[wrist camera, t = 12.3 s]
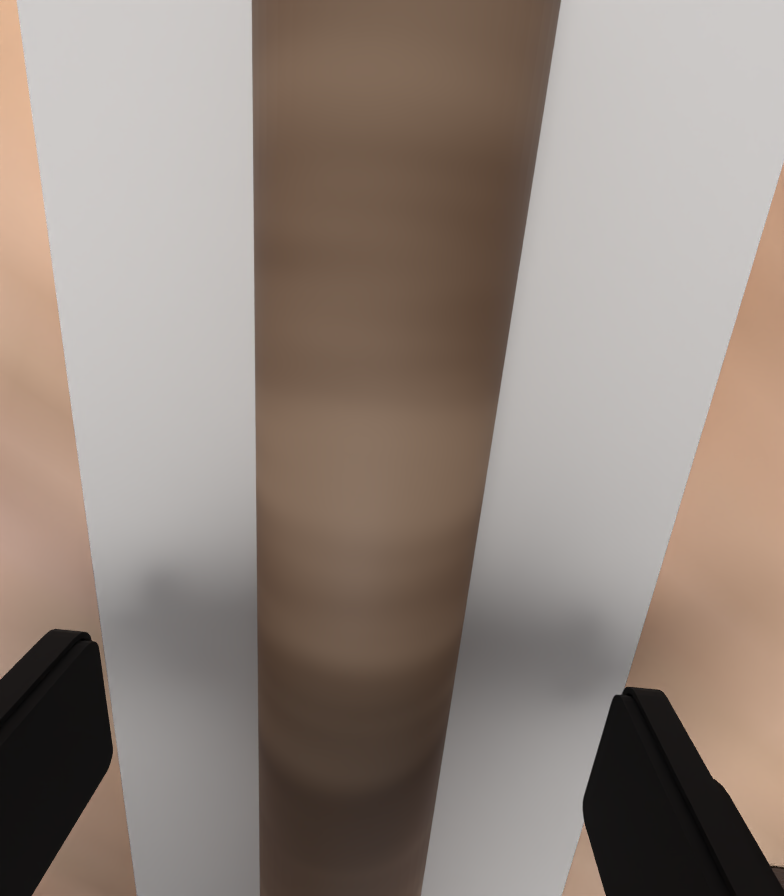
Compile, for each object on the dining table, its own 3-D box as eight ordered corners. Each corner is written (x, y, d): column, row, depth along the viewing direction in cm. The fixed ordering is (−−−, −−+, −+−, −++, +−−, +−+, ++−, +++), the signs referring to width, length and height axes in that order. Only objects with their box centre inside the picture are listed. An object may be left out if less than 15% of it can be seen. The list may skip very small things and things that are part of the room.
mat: (521, 991, 17) (525, 1016, 16) (156, 950, 17) (147, 973, 17) (857, -165, 7) (892, -200, 7) (14, -226, 8) (-19, -266, 7)
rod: (395, 958, 16) (396, 1149, 12) (277, 952, 16) (245, 1142, 12) (534, -29, 8) (646, -257, 4) (286, -55, 8) (197, -306, 4)
